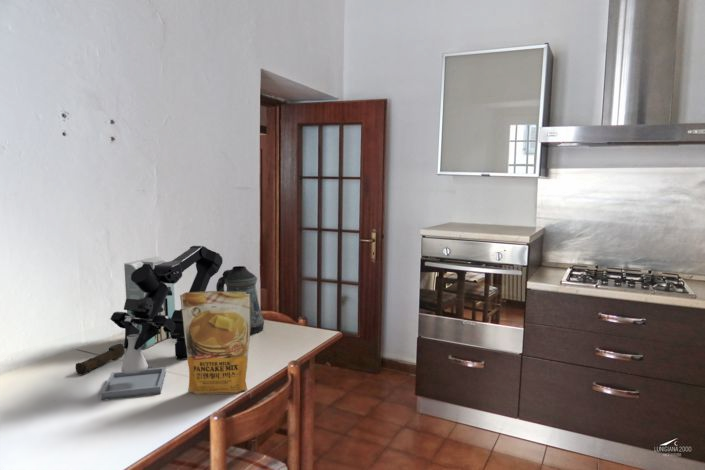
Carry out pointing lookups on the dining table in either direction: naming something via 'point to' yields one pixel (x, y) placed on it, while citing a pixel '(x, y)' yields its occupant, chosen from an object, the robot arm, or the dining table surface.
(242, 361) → the pancake mix bag
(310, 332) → the dining table surface
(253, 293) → the dark grey coffee pot
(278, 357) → the dining table surface
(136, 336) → the flask
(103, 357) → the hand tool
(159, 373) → the parts tray
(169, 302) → the light blue box
